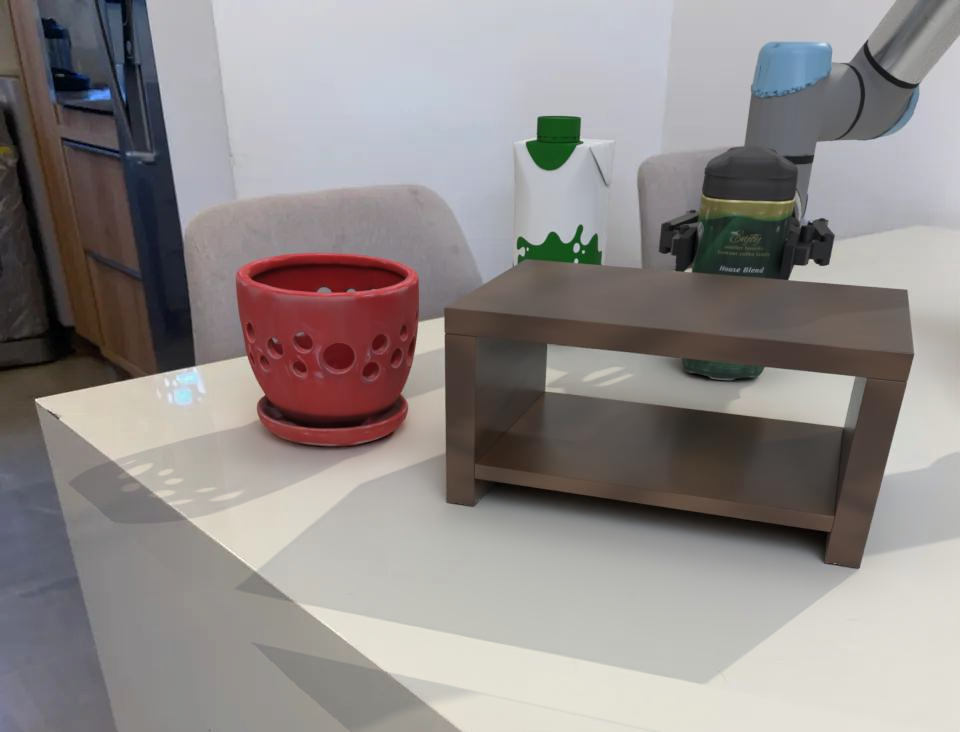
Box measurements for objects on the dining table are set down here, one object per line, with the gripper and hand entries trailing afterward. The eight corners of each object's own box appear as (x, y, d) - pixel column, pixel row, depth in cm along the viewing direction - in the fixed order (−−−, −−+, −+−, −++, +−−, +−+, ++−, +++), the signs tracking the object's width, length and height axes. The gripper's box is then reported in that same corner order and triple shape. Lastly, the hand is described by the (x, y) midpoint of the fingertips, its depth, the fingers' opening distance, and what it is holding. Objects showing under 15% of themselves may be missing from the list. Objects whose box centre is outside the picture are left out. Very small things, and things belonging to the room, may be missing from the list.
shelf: (863, 470, 68) (907, 289, 61) (859, 568, 55) (914, 353, 48) (519, 425, 75) (525, 258, 68) (445, 502, 62) (443, 307, 56)
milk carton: (500, 338, 97) (504, 116, 86) (533, 319, 104) (541, 111, 93) (581, 349, 94) (596, 120, 83) (609, 328, 101) (626, 114, 90)
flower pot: (228, 454, 69) (205, 283, 63) (284, 397, 80) (268, 247, 74) (403, 465, 68) (397, 291, 61) (435, 406, 79) (433, 254, 72)
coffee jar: (768, 386, 84) (808, 153, 74) (678, 380, 86) (705, 151, 76) (763, 356, 92) (798, 142, 82) (680, 351, 94) (706, 140, 84)
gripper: (858, 265, 97) (853, 316, 79) (656, 250, 103) (608, 294, 84) (875, 185, 93) (874, 218, 74) (664, 174, 98) (615, 203, 80)
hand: (733, 259), depth 79 cm, fingers closed on coffee jar, 8 cm apart
